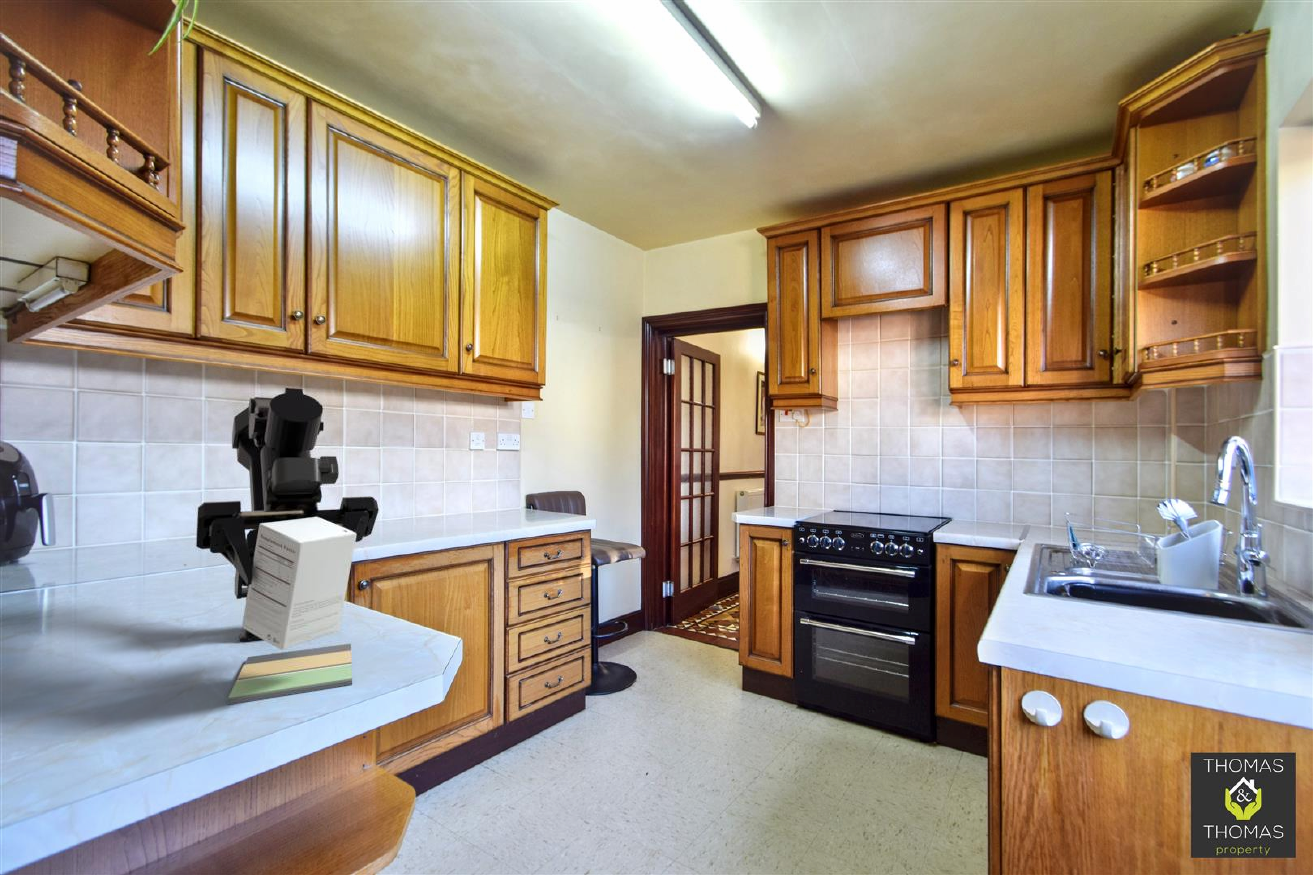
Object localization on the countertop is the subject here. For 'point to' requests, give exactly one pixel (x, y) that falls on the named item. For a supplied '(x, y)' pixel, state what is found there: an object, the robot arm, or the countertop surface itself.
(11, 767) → the countertop surface
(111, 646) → the countertop surface
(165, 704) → the countertop surface
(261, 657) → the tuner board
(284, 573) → the supplement box
